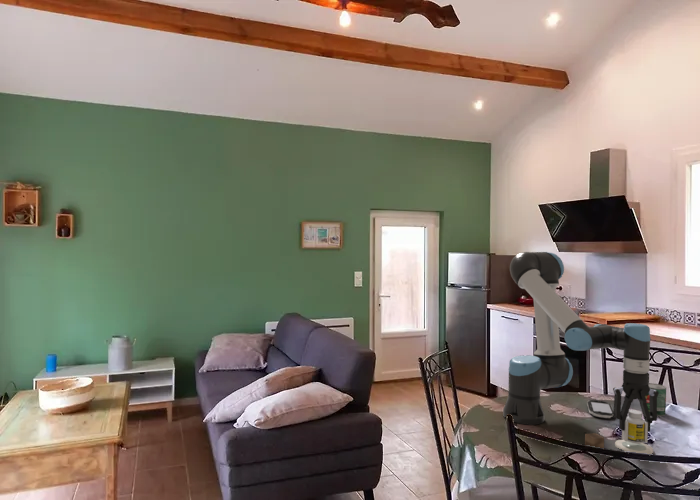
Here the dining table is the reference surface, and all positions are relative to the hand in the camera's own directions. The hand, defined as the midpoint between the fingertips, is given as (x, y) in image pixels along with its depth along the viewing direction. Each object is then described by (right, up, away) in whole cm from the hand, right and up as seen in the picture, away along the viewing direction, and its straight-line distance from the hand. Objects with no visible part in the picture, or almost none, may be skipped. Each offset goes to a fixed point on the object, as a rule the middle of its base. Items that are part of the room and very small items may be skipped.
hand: (634, 440), depth 164 cm
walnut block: (-13, -3, +1) cm, 13 cm away
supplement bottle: (0, -1, 0) cm, 1 cm away
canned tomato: (+29, -3, +36) cm, 46 cm away
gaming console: (+7, -3, +37) cm, 38 cm away
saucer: (0, -3, 0) cm, 3 cm away
